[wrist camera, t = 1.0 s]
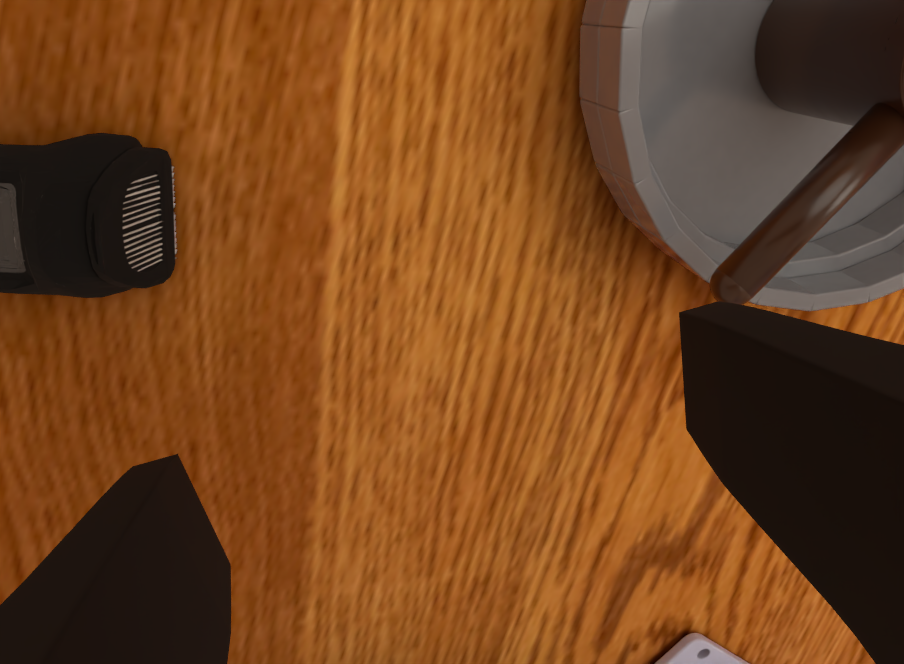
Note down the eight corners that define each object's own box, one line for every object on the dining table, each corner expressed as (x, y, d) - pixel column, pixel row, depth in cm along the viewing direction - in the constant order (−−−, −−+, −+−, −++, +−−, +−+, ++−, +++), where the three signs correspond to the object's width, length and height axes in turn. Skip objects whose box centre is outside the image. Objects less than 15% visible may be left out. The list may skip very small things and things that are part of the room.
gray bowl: (1098, 14, 20) (1222, 15, 17) (761, 348, 23) (823, 394, 20) (874, -438, 15) (1002, -536, 12) (467, 69, 17) (497, 82, 15)
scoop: (905, 33, 18) (1096, 42, 14) (673, 277, 20) (778, 355, 16) (835, -73, 17) (1024, -99, 13) (591, 201, 19) (681, 263, 14)
